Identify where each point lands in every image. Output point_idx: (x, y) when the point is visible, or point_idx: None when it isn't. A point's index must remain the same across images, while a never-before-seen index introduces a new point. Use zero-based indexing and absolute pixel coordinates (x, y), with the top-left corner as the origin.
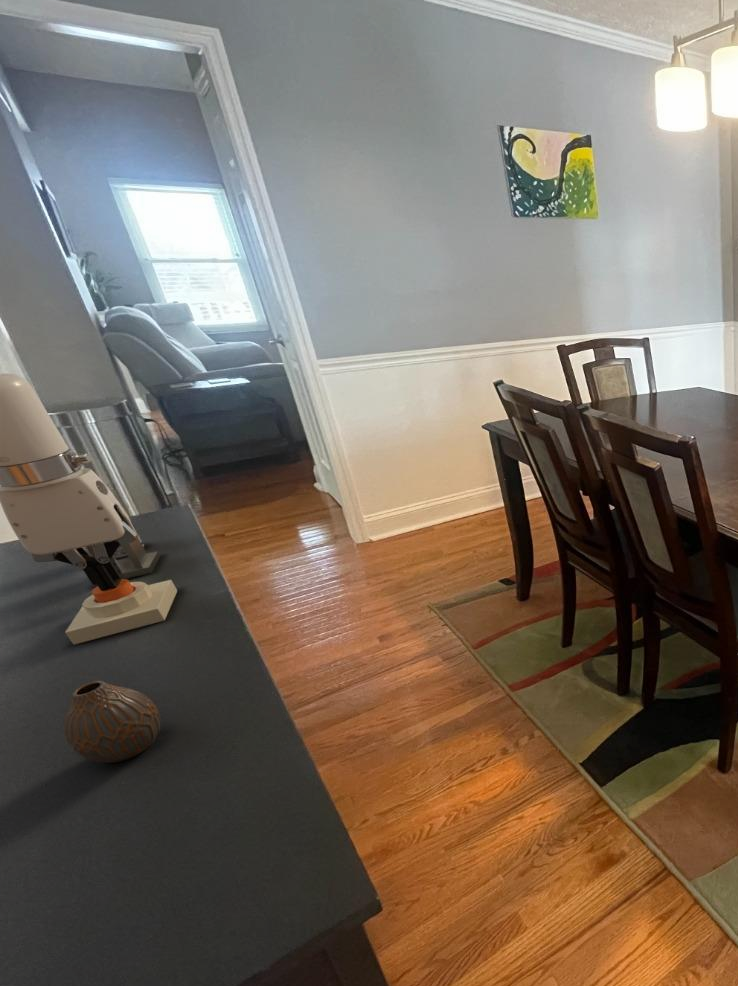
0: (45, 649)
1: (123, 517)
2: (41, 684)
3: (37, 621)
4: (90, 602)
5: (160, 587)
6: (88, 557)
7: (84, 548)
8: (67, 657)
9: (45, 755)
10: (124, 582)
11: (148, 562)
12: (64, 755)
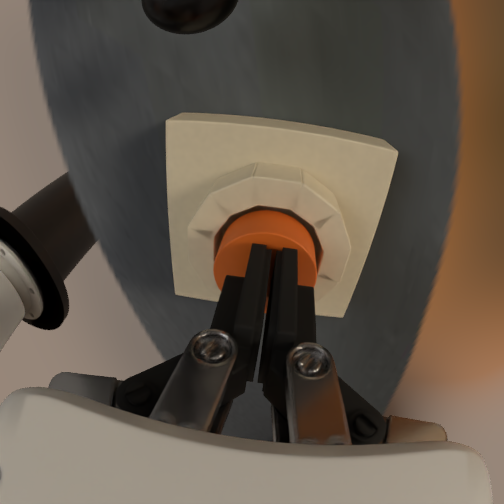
0: (139, 251)
1: (483, 498)
2: (183, 352)
3: (74, 86)
4: (208, 264)
5: (367, 195)
6: (232, 383)
7: (218, 404)
8: (190, 308)
9: (232, 429)
10: (305, 281)
11: None
12: (245, 434)
